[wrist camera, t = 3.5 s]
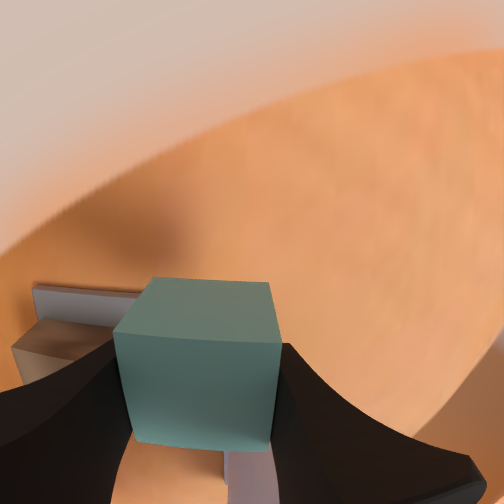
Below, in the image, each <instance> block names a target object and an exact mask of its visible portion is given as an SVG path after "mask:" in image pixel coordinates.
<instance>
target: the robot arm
mask: <svg viewBox="0 0 504 504" xmlns="http://www.w3.org/2000/svg"><path fill="white" fill-rule="evenodd" d="M132 431H133V428H132V425H131V421H130V417H129V413H128V409H127V404H126V400H125V396H124V391H123V386H122V382H121V377H120V372H119V367H118V361H117V356H116V350H115V344H114V338H112V339H111V340H109V341H107V342H106V343H104V344H103V345H101V346H99V347H98V348H96V349H95V350H93V351H91V352H90V353H88V354H86V355H85V356H83V357H82V358H80V359H78V360H76V361H74V362H73V363H71V364H69V365H67V366H65V367H64V368H62V369H60V370H58V371H56V372H54V373H52V374H50V375H48V376H46V377H44V378H41V379H39V380H37V381H34V382H32V383H29V384H27V385H24V386H21V387H18V388H14V389H11V390H8V391H4V392H1V393H0V504H110V503H111V497H112V492H113V488H114V483H115V479H116V475H117V471H118V468H119V465H120V462H121V459H122V456H123V454H124V451H125V449H126V446H127V444H128V441H129V438H130V436H131V433H132ZM224 478H225V484H226V485H227V486H228V502H227V504H477V502H478V501H479V500H480V499H481V498H482V496H483V494H484V492H485V490H486V487H487V482H486V480H485V479H484V478H483V476H482V474H481V473H480V471H479V470H478V468H477V467H476V465H475V463H474V462H473V460H472V459H471V458H470V457H469V456H468V455H464V454H460V453H456V452H452V451H448V450H445V449H441V448H437V447H434V446H431V445H428V444H425V443H423V442H420V441H417V440H415V439H412V438H410V437H408V436H405V435H403V434H401V433H399V432H397V431H395V430H393V429H391V428H389V427H387V426H385V425H383V424H382V423H380V422H378V421H376V420H374V419H373V418H371V417H370V416H368V415H366V414H365V413H363V412H362V411H360V410H359V409H358V408H356V407H355V406H353V405H352V404H350V403H349V402H348V401H347V400H345V399H344V398H343V397H341V396H340V395H339V394H338V393H337V392H336V391H334V390H333V389H332V388H331V387H330V386H329V385H328V384H327V383H326V382H324V380H323V379H322V378H321V377H320V376H319V375H318V374H317V373H316V372H315V371H314V370H313V369H312V368H311V367H310V366H309V365H308V364H307V363H306V362H305V360H304V359H303V358H302V357H301V356H300V355H299V353H298V352H297V351H296V350H295V349H294V348H293V347H292V345H291V344H290V343H282V349H281V358H280V366H279V375H278V383H277V390H276V398H275V406H274V413H273V420H272V428H271V435H270V441H269V448H268V452H234V451H224Z"/></svg>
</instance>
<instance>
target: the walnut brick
mask: <svg viewBox="0 0 504 504" xmlns="http://www.w3.org/2000/svg"><path fill="white" fill-rule="evenodd" d="M114 329H115V327H107V326H99V325H90V324H82V323H75V322H68V321H61V320H54V319H48V318H42V319H41V320H40V321H39V322H38V323H37V324H35V325H34V326H33V327H32V328H31V329H30V330H29V331H28V332H27V333H25V334H24V335H23V336H22V337H21V338H20V339H19V340H18V341H17V342H16V343H15V344H13V345H12V346H11V349H12V352H13V356H14V358H15V361H16V364H17V367H18V370H19V373H20V375H21V378H22V381H23V383H24V385H27V384H29V383H32V382H34V381H37V380H39V379H41V378H44V377H46V376H48V375H50V374H52V373H54V372H56V371H58V370H60V369H62V368H64V367H65V366H67V365H69V364H71V363H73V362H74V361H76V360H78V359H80V358H82V357H83V356H85V355H86V354H88V353H90V352H91V351H93V350H95V349H96V348H98V347H99V346H101V345H103V344H104V343H106V342H107V341H109V340H111V339H112V338H113V330H114Z"/></svg>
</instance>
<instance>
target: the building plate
mask: <svg viewBox="0 0 504 504" xmlns="http://www.w3.org/2000/svg"><path fill="white" fill-rule="evenodd" d="M32 293H33V298H34V303H35V308H36V312H37V317H38V321H40V320H41V319H42V318H48V319H54V320H61V321H68V322H75V323H82V324H90V325H99V326H107V327H116V326H117V325H118V323H119V322H120V321H121V319H122V318H123V317H124V315H125V314H126V313H127V311H128V310H129V309H130V307H131V306H132V305H133V303H134V302H135V301H136V299H137V298H138V297H139V295H140V294H141V293H129V292H115V291H102V290H89V289H78V288H67V287H56V286H46V285H37V286H35V287H34V288H32Z"/></svg>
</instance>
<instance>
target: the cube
mask: <svg viewBox="0 0 504 504" xmlns="http://www.w3.org/2000/svg"><path fill="white" fill-rule="evenodd" d="M113 338H114V344H115V350H116V356H117V361H118V367H119V372H120V377H121V382H122V386H123V391H124V396H125V400H126V404H127V409H128V413H129V417H130V421H131V425H132V428H133V432H134V436H135V439H136V441H137V442H143V443H149V444H156V445H163V446H171V447H179V448H189V449H200V450H214V451H234V452H268V448H269V441H270V435H271V428H272V420H273V413H274V406H275V398H276V390H277V383H278V375H279V366H280V358H281V349H282V339H281V335H280V330H279V326H278V321H277V317H276V312H275V308H274V303H273V299H272V295H271V290H270V286H269V283H267V282H242V281H220V280H200V279H181V278H164V277H153V279H152V280H151V281H150V282H149V284H148V285H147V286H146V288H145V289H144V290H143V292H142V293H141V294H140V295H139V297H138V298H137V299H136V301H135V302H134V303H133V305H132V306H131V307H130V309H129V310H128V311H127V313H126V314H125V315H124V317H123V318H122V319H121V321H120V322H119V323H118V325H117V326H116V327H115V329H114V330H113Z"/></svg>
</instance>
